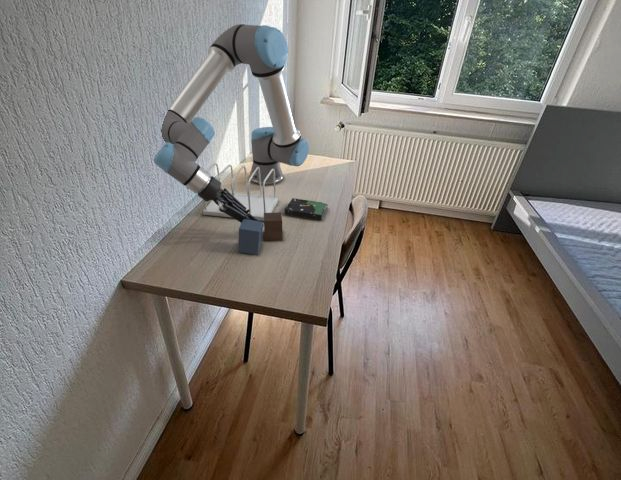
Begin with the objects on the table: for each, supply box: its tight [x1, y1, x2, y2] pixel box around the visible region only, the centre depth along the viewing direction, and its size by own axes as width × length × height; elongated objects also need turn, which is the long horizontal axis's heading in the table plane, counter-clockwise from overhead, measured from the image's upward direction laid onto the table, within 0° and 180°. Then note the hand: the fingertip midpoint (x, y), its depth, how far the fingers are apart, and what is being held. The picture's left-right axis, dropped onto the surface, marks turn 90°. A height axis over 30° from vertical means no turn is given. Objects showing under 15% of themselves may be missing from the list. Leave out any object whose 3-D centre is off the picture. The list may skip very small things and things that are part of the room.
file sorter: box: [202, 162, 279, 222], centre depth 133 cm, size 25×17×16 cm
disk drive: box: [284, 197, 329, 221], centre depth 136 cm, size 10×3×15 cm
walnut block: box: [263, 211, 283, 242], centre depth 119 cm, size 6×6×8 cm
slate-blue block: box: [237, 219, 264, 256], centre depth 112 cm, size 6×6×9 cm
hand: (260, 227), depth 119 cm, fingers closed
